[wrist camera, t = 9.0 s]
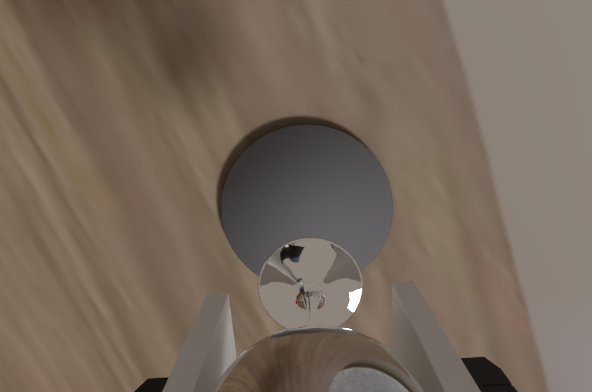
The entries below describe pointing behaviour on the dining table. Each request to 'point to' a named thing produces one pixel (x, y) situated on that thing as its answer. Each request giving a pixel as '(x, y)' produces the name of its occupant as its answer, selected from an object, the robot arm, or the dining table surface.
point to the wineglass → (315, 329)
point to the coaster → (306, 195)
